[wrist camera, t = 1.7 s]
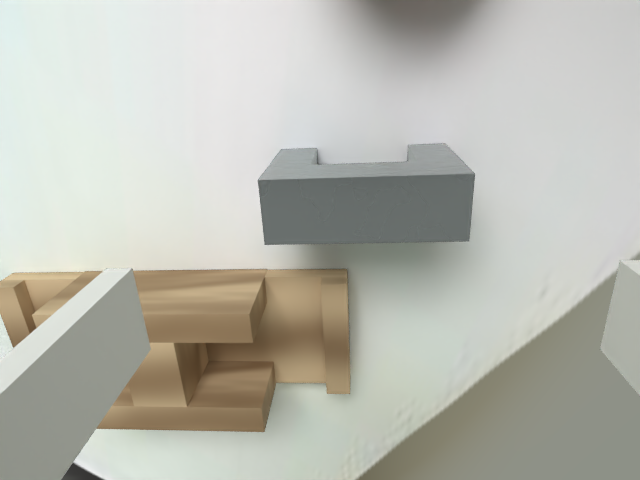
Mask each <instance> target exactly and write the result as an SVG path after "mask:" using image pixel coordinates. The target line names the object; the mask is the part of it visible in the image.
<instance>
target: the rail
mask: <svg viewBox="0 0 640 480" xmlns="http://www.w3.org/2000/svg"><path fill="white" fill-rule="evenodd" d="M102 272H103V271H85V272H53V273H12V274H11V275H9V276H8V277H6V278H5V279H3V280H2V281H0V314H1V317H2V319H3V322H4V325H5V327H6V330H7V332H8V335H9V338H10V340H11V343H12V346H13V348H14V347H15V346H16V345H18V344H19V343H20V342H21V341H22V340H23V339H25V338H26V337H27V336H28V335H29V334H30V333H32V332H33V331H34V330H35V329H36V328H37V327H39V326H40V325H41V324H42V323H43V322H44V321H46V320H47V319H48V318H49V317H50V316H51V315H53V314H54V313H55V312H56V311H57V310H58V309H60V308H61V307H62V306H63V305H64V304H65V303H67V302H68V301H69V300H70V299H71V298H72V297H74V296H75V295H76V294H77V293H78V292H79V291H81V290H82V289H83V288H84V287H85V286H86V285H88V284H89V283H90V282H91V281H92V280H93V279H95V278H96V277H97V276H98V275H99V274H100V273H102ZM133 274H134V278H135V282H136V287H137V291H138V295H139V300H140V304H141V308H142V313H143V317H144V321H145V326H146V330H147V334H148V339H149V343H150V347H151V350H150V351H149V353H148V354H147V356H146V357H145V359H144V360H143V362H142V363H141V364H140V366H139V367H138V369H137V370H136V372H135V373H134V375H133V376H132V377H131V379H130V380H129V382H128V383H127V385H126V386H125V388H124V389H123V390H122V392H121V393H120V395H119V396H118V398H117V399H116V401H115V402H114V404H113V405H112V406H111V408H110V409H109V411H108V412H107V414H106V415H105V417H104V418H103V419H102V421H101V422H100V424H99V425H98V427H97V428H96V429H140V430H192V431H243V432H265V428H266V423H267V419H268V415H269V411H270V407H271V402H272V398H273V394H274V390H275V386H276V383H326V387H327V394H350V344H349V310H348V275H347V269H297V270H267V269H239V270H159V271H133Z"/></svg>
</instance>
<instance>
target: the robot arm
mask: <svg viewBox="0 0 640 480" xmlns="http://www.w3.org/2000/svg"><path fill="white" fill-rule="evenodd" d="M150 350H151V347H150V343H149V339H148V334H147V330H146V326H145V321H144V317H143V313H142V308H141V304H140V300H139V295H138V291H137V287H136V282H135V278H134V274H133V269H132V268H106V269H105V270H104V271H103V272H102V273H100V274H99V275H98V276H97V277H96V278H95V279H93V280H92V281H91V282H90V283H89V284H88V285H86V286H85V287H84V288H83V289H82V290H81V291H79V292H78V293H77V294H76V295H75V296H74V297H72V298H71V299H70V300H69V301H68V302H67V303H65V304H64V305H63V306H62V307H61V308H60V309H58V310H57V311H56V312H55V313H54V314H53V315H51V316H50V317H49V318H48V319H47V320H46V321H44V322H43V323H42V324H41V325H40V326H39V327H37V328H36V329H35V330H34V331H33V332H32V333H30V334H29V335H28V336H27V337H26V338H25V339H23V340H22V341H21V342H20V343H19V344H18V345H16V346H15V347H14V348H13V349H12V350H11V351H9V352H8V353H7V354H6V355H5V356H4V357H2V358H1V359H0V480H61V479H62V477H63V476H64V474H65V473H66V472H67V470H68V469H69V467H70V466H71V464H72V463H73V461H74V460H75V459H76V457H77V456H78V454H79V453H80V451H81V450H82V448H83V447H84V446H85V444H86V443H87V441H88V440H89V438H90V437H91V435H92V434H93V432H94V431H95V430H96V428H97V427H98V425H99V424H100V422H101V421H102V419H103V418H104V417H105V415H106V414H107V412H108V411H109V409H110V408H111V406H112V405H113V404H114V402H115V401H116V399H117V398H118V396H119V395H120V393H121V392H122V390H123V389H124V388H125V386H126V385H127V383H128V382H129V380H130V379H131V377H132V376H133V375H134V373H135V372H136V370H137V369H138V367H139V366H140V364H141V363H142V362H143V360H144V359H145V357H146V356H147V354H148V353H149V351H150ZM600 350H601V351H602V352H603V353H604V354H605V356H606V357H607V358H608V359H609V360H610V362H611V363H612V364H613V365H614V366H615V367H616V369H617V370H618V371H619V372H620V373H621V374H622V376H623V377H624V378H625V379H626V380H627V382H628V383H629V384H630V385H631V386H632V387H633V389H634V390H635V391H636V392H637V393H638V395H639V396H640V260H621V261H620V263H619V267H618V272H617V276H616V281H615V285H614V290H613V294H612V299H611V303H610V307H609V312H608V316H607V321H606V326H605V330H604V334H603V339H602V343H601V348H600Z"/></svg>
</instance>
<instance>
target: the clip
mask: <svg viewBox="0 0 640 480" xmlns="http://www.w3.org/2000/svg"><path fill="white" fill-rule="evenodd" d="M474 179H475V173H474V172H473V171H472V170H471V169H470V168H469V167H468V166H467V165H466V164H465V163H464V162H463V161H462V160H461V159H460V158H459V157H458V156H457V155H456V154H455V153H454V152H453V151H452V150H451V149H450V148H449V147H448V146H447V145H446V144H417V145H408V161H407V162H383V163H352V164H321V165H318V162H317V148H305V149H281V150H280V152H279V153H278V154H277V156H276V157H275V158H274V159H273V161H272V162H271V163H270V165H269V166H268V167H267V169H266V170H265V171H264V173H263V174H262V175H261V177H260V178H259V179H258V185H259V195H260V204H261V214H262V223H263V232H264V242H265V245H280V244H338V243H396V242H454V241H469V237H470V225H471V214H472V202H473V191H474Z"/></svg>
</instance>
